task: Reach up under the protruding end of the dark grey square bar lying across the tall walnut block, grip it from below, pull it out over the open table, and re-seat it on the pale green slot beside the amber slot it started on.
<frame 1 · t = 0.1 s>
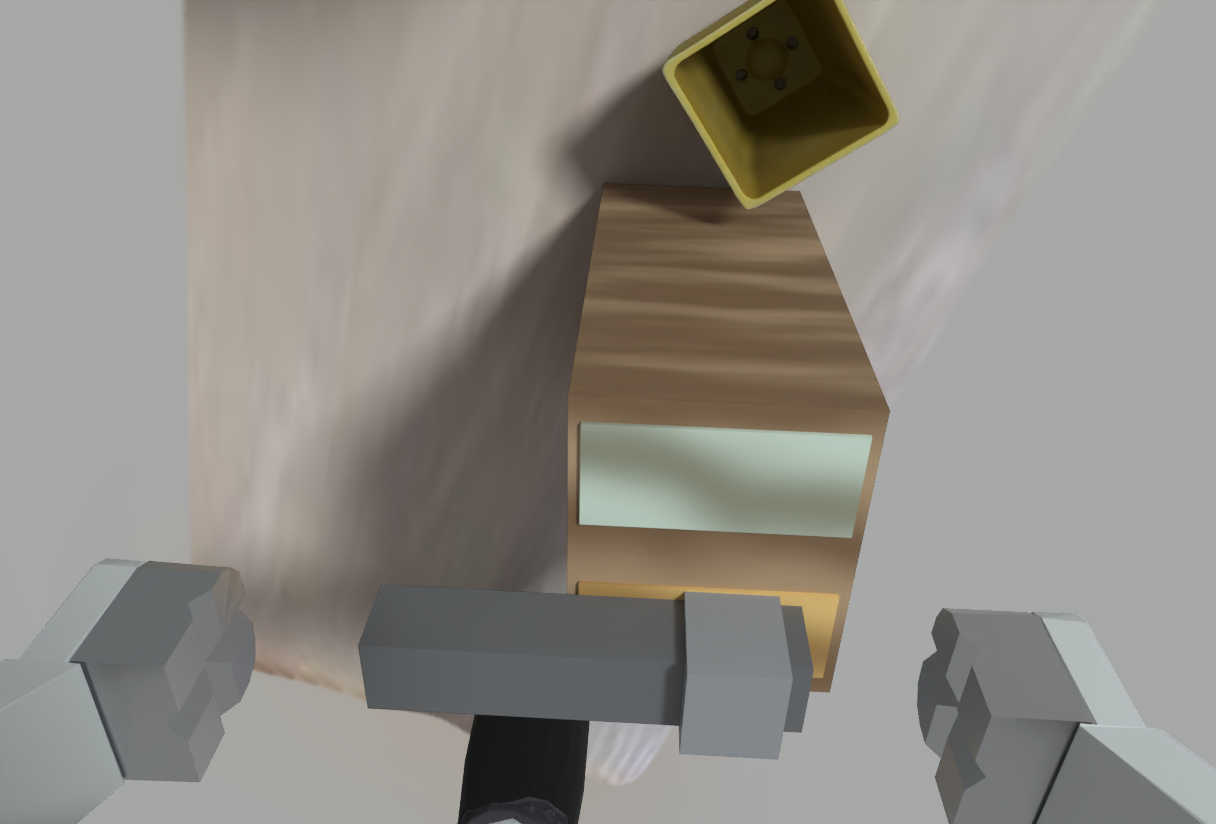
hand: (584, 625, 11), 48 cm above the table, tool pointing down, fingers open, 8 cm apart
panel block: (692, 299, 61), on the table
portable speaker: (545, 634, 77), on the table
dark grey square bar: (589, 626, 41), point 26 cm above the table, touching panel block
flower pot: (763, 59, 53), on the table
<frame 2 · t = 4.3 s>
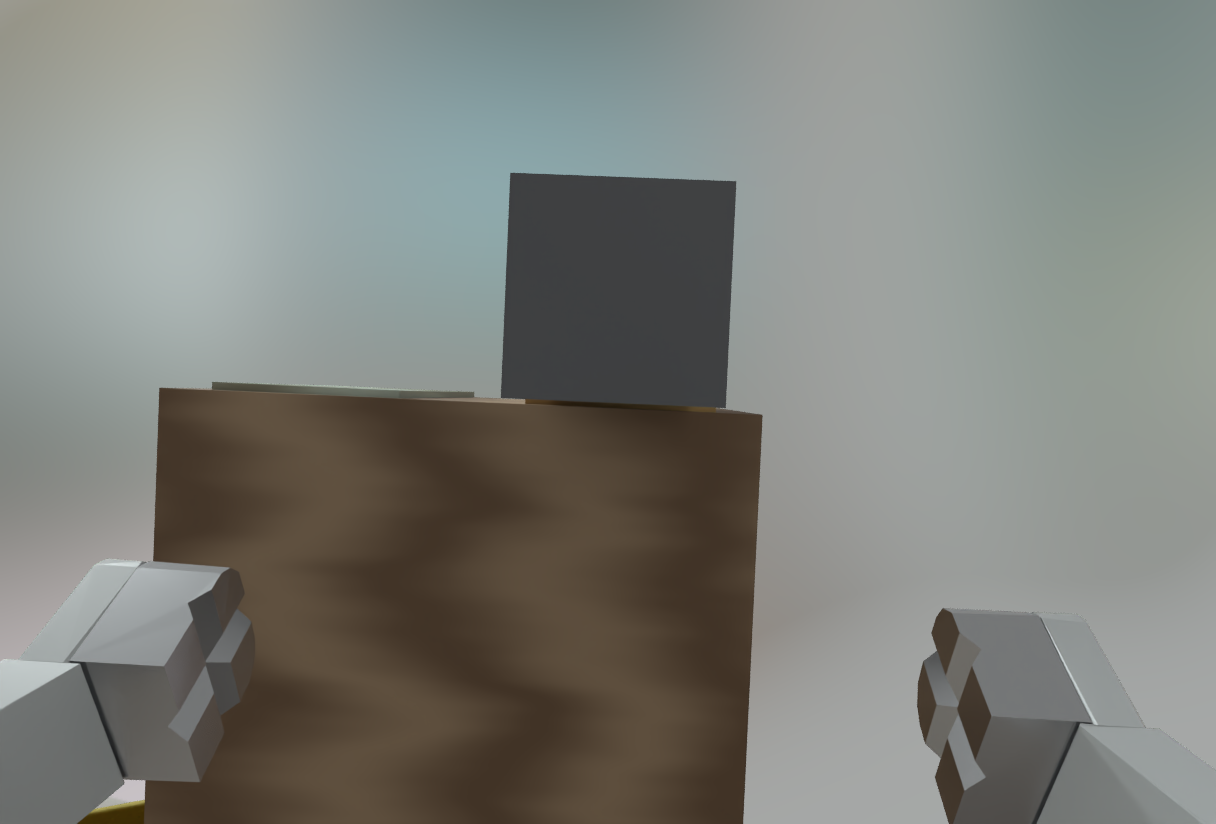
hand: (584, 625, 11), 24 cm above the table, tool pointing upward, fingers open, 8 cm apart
dark grey square bar: (620, 400, 24), point 26 cm above the table, touching panel block
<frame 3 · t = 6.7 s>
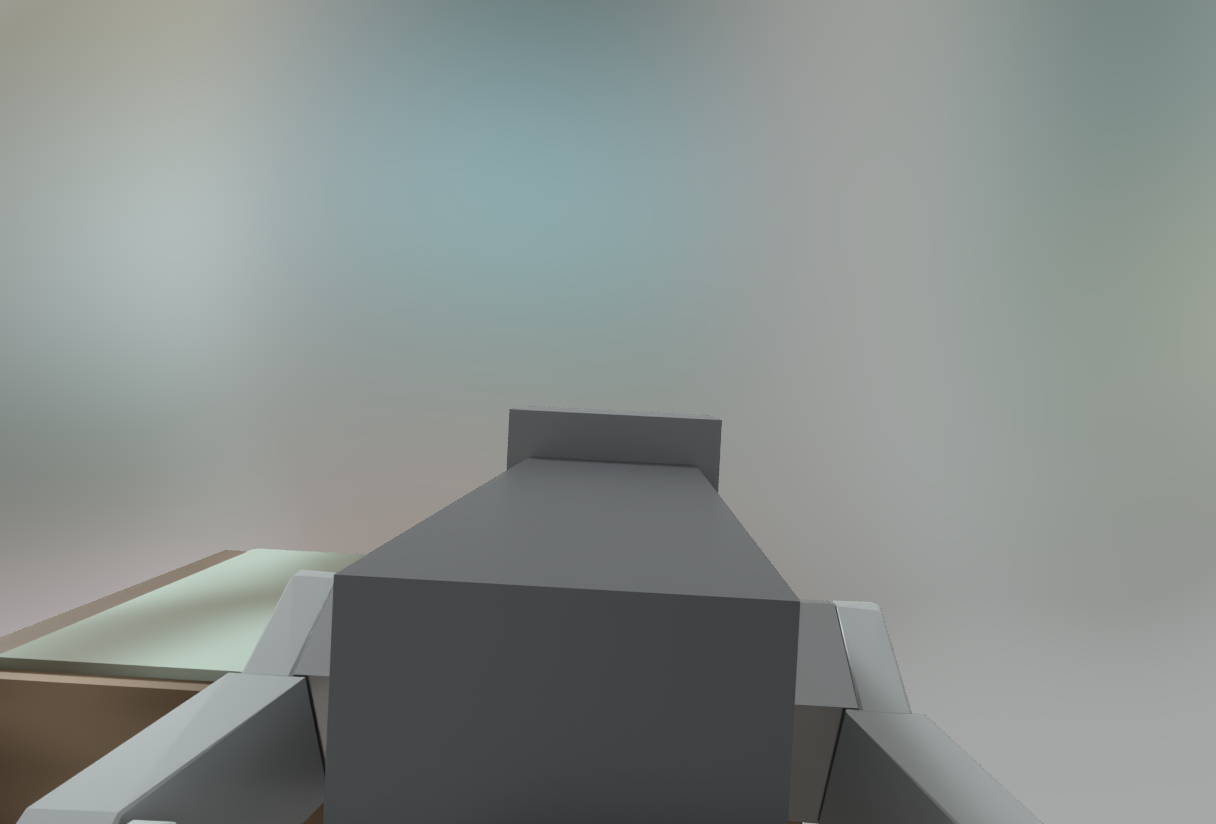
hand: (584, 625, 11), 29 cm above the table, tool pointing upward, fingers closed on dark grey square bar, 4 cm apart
dark grey square bar: (596, 683, 16), point 26 cm above the table, touching gripper, panel block
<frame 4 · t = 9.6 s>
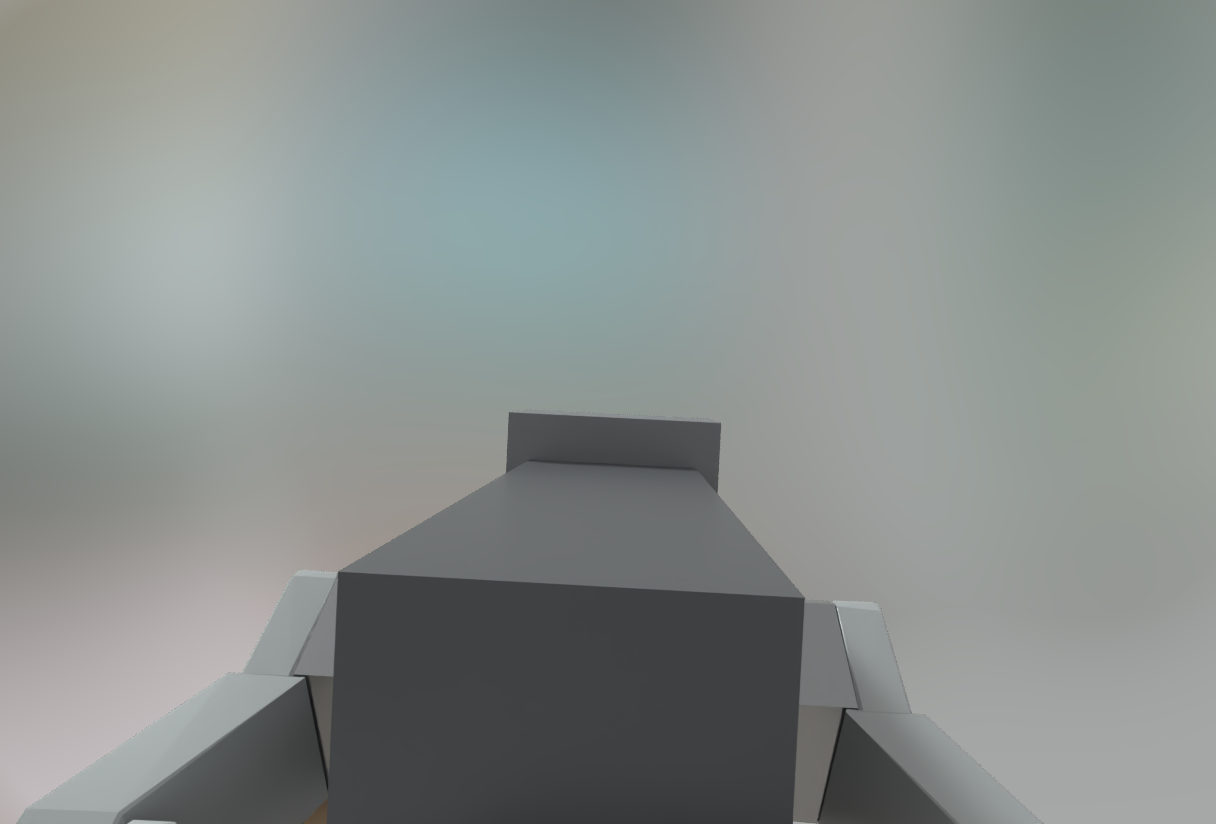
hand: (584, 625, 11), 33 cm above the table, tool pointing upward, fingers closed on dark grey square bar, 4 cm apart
dark grey square bar: (596, 685, 16), point 30 cm above the table, touching gripper
when the fingers open (30 cm above the table, at t = 13.0 s): dark grey square bar stays where it is, resting on panel block.
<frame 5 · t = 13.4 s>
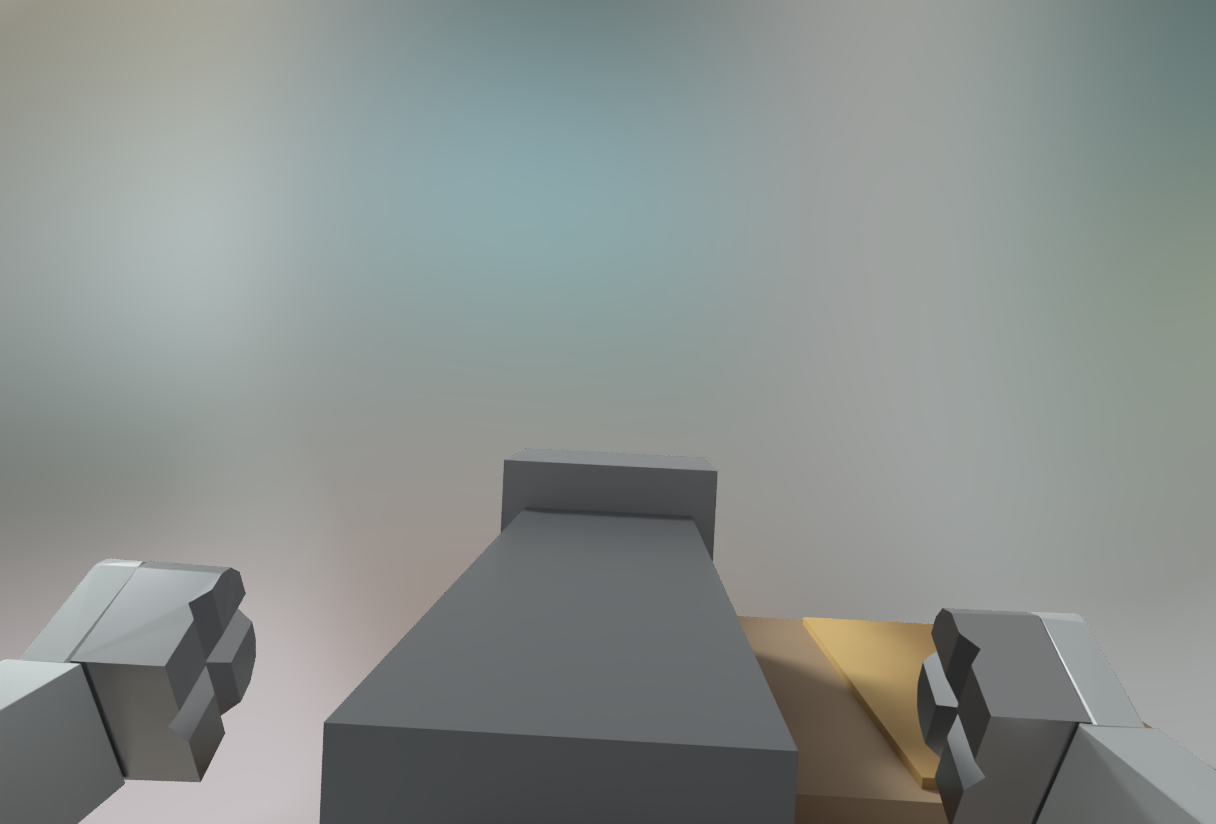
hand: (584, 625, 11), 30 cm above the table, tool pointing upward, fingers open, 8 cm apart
dark grey square bar: (591, 748, 16), point 26 cm above the table, touching panel block
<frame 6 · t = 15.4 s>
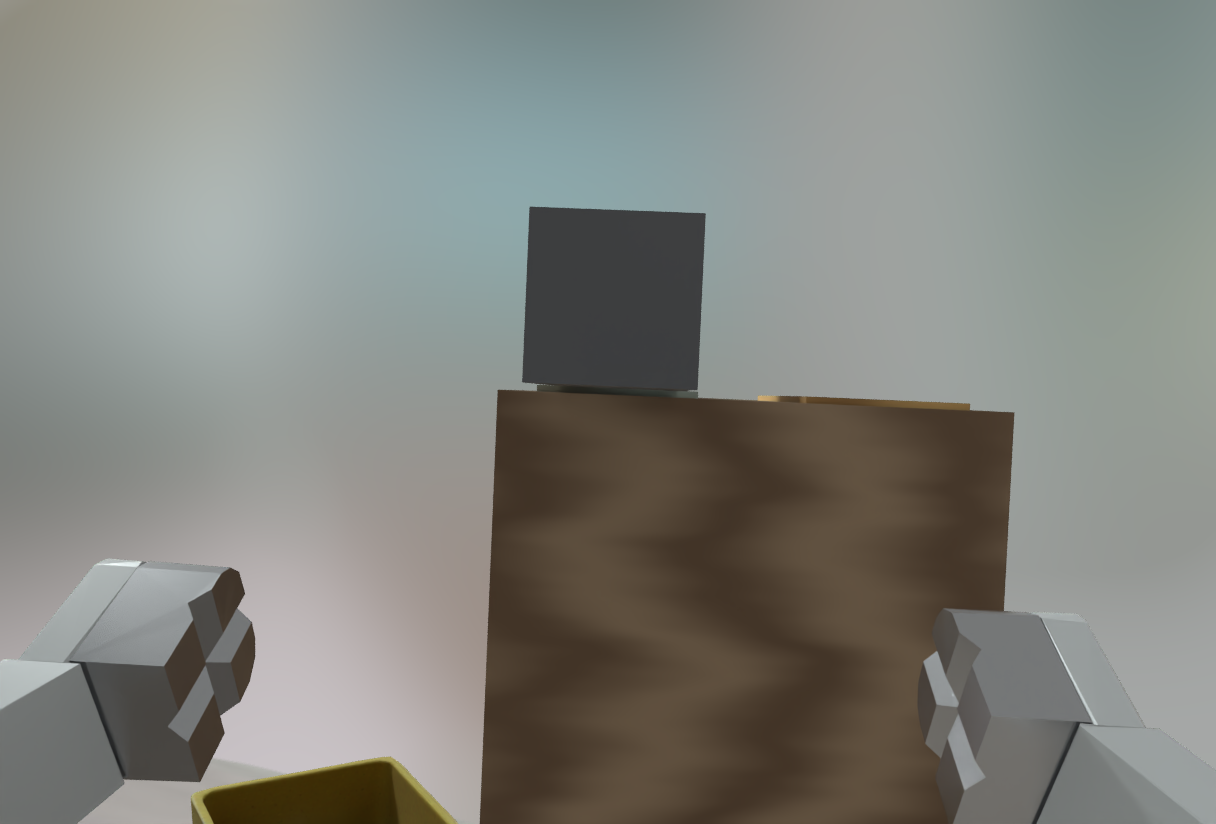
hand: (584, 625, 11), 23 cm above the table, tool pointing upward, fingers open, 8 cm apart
dark grey square bar: (618, 388, 28), point 26 cm above the table, touching panel block
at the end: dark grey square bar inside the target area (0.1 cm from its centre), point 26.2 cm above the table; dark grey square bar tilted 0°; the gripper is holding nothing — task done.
